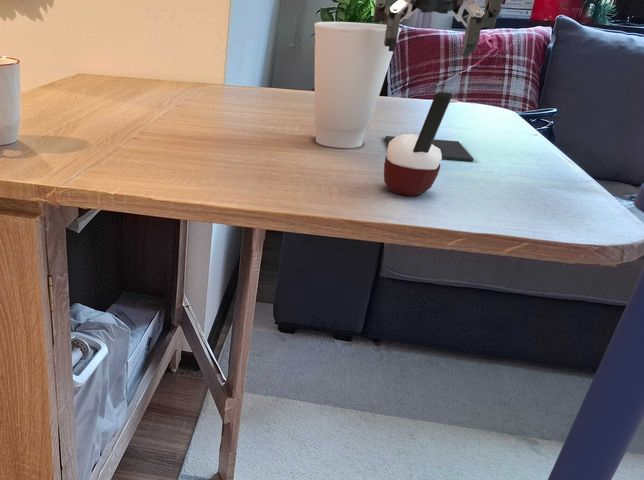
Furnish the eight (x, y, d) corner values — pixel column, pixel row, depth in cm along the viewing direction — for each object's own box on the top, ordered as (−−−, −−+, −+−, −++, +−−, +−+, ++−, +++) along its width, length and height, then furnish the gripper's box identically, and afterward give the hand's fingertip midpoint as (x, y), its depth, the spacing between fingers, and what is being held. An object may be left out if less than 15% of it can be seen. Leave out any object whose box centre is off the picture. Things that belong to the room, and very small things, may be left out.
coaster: (457, 143, 98) (458, 141, 98) (472, 161, 89) (473, 158, 89) (385, 138, 100) (385, 135, 100) (392, 155, 91) (393, 152, 90)
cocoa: (385, 179, 80) (407, 76, 74) (437, 187, 78) (463, 82, 71) (370, 199, 73) (392, 87, 66) (427, 208, 70) (455, 93, 64)
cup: (377, 155, 90) (402, 30, 82) (294, 147, 93) (310, 25, 84) (379, 138, 100) (401, 24, 92) (304, 130, 102) (318, 20, 94)
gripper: (391, -90, 77) (372, 22, 73) (517, -87, 74) (503, 29, 70) (382, -38, 84) (364, 66, 80) (497, -34, 81) (483, 75, 77)
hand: (429, 49), depth 75 cm, fingers open, 8 cm apart
